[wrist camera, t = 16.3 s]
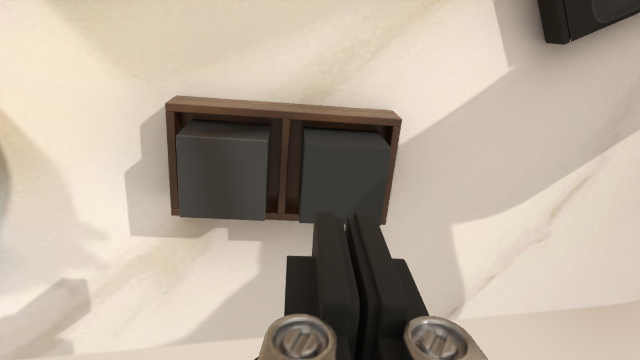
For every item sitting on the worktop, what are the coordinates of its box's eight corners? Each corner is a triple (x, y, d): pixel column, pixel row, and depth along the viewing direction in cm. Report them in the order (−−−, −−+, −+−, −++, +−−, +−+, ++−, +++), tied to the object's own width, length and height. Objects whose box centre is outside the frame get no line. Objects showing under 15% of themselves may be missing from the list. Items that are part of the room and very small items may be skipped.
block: (378, 130, 27) (391, 148, 23) (368, 199, 29) (380, 226, 25) (302, 126, 27) (304, 143, 23) (298, 196, 28) (299, 223, 25)
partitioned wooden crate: (393, 110, 28) (413, 129, 23) (378, 209, 30) (394, 243, 26) (175, 95, 26) (151, 111, 22) (180, 199, 29) (159, 234, 24)
